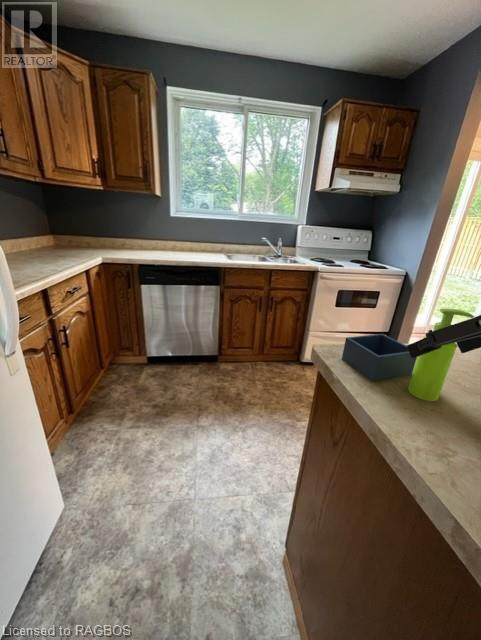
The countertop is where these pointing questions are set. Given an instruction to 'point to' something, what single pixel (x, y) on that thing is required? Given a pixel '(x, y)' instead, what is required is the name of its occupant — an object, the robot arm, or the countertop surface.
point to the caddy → (378, 356)
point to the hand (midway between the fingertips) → (435, 349)
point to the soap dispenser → (434, 363)
